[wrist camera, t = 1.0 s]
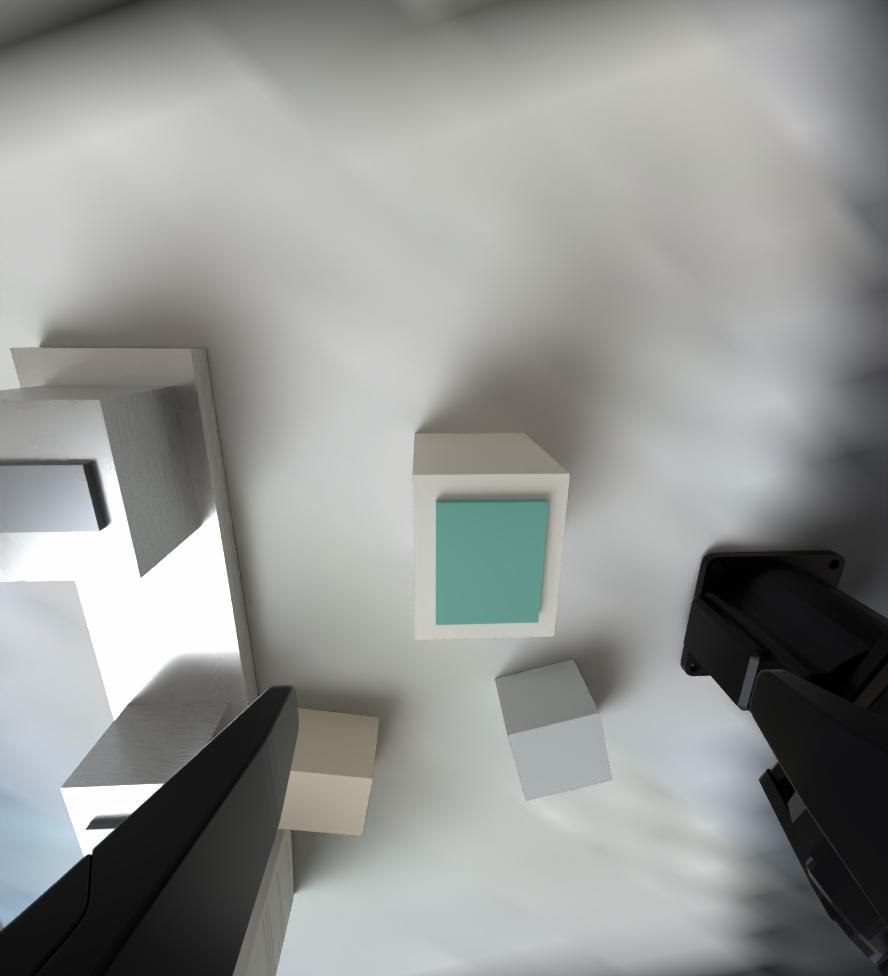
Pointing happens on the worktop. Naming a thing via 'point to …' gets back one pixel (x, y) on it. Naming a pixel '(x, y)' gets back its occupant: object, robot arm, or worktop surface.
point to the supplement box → (269, 913)
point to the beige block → (330, 773)
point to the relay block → (553, 729)
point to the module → (486, 536)
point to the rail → (191, 578)
